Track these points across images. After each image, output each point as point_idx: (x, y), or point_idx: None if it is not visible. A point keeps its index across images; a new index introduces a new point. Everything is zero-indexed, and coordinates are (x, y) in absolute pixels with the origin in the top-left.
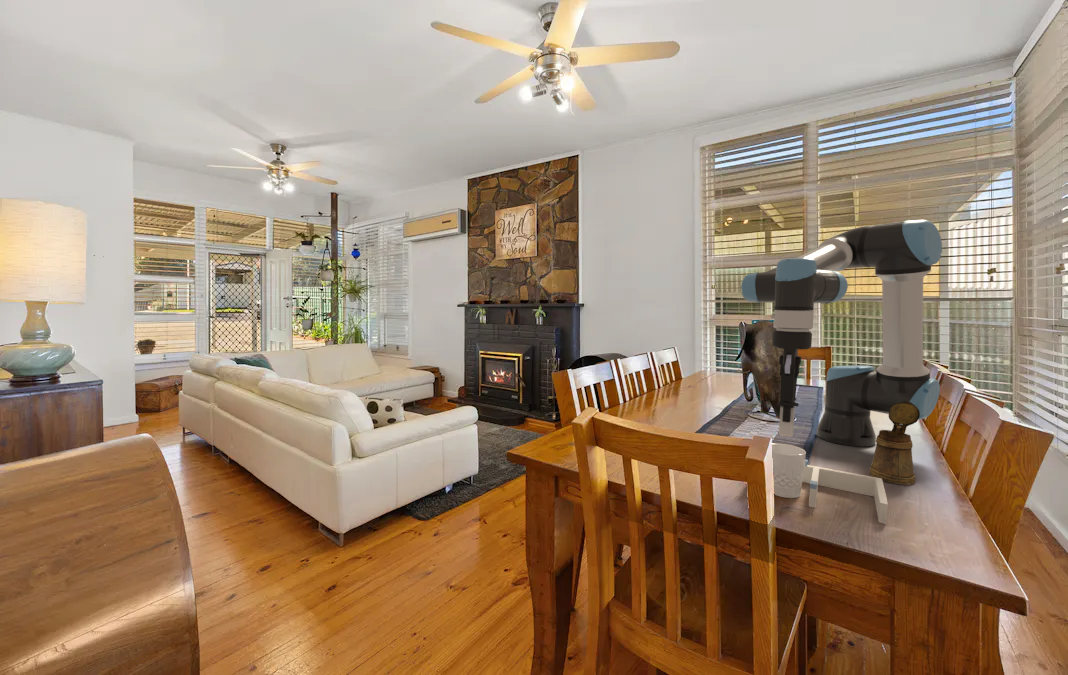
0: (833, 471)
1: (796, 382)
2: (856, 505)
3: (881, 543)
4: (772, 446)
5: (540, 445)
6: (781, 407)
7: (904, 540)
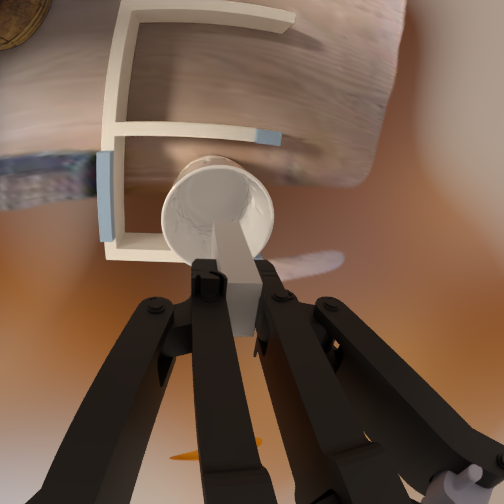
0: (117, 91)
1: (117, 397)
2: (211, 53)
3: (361, 57)
4: (184, 253)
5: None
6: (254, 329)
7: (334, 20)
